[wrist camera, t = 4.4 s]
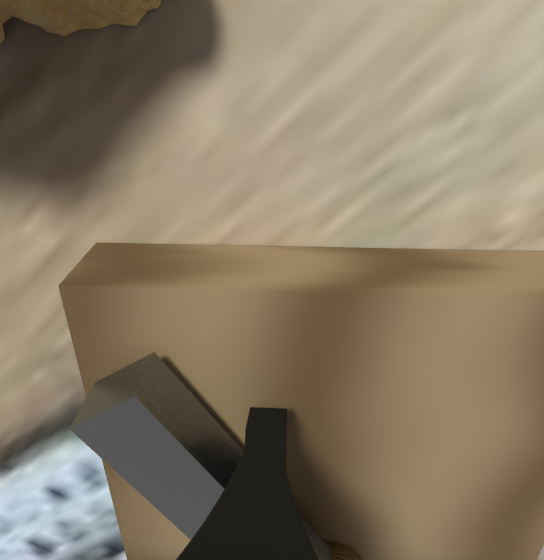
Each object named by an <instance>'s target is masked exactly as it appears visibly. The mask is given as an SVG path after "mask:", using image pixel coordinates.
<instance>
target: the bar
mask: <svg viewBox="0 0 544 560" xmlns="http://www.w3.org/2000/svg"><path fill="white" fill-rule="evenodd" d="M69 429H70V430H71V431H73V432H74V433H75V434H76V435H77V436H78V437H79V438H80V439H81V440H82V441H83V442H85V443H86V444H87V445H88V446H89V447H90V448H91V449H92V450H93V451H94V452H95V453H97V454H98V455H99V456H100V457H101V458H102V459H103V460H104V461H105V462H106V463H107V464H108V465H110V466H111V467H112V468H113V469H114V470H115V471H116V472H117V473H118V474H119V475H120V476H122V477H123V478H124V479H125V480H126V481H127V482H128V483H129V484H130V485H131V486H132V487H133V488H135V489H136V490H137V491H138V492H139V493H140V494H141V495H142V496H143V497H144V498H145V499H147V500H148V501H149V502H150V503H151V504H152V505H153V506H154V507H155V508H156V509H157V510H159V511H160V512H161V513H162V514H163V515H164V516H165V517H166V518H167V519H168V520H169V521H170V522H172V523H173V524H174V525H175V526H176V527H177V528H178V529H179V530H180V531H181V532H182V533H184V534H185V535H186V536H187V537H188V538H189V539H190V540H191V539H192V538H193V537H194V535H195V534H196V532H197V531H198V530H199V528H200V527H201V525H202V524H203V522H204V521H205V519H206V518H207V516H208V515H209V513H210V512H211V510H212V509H213V507H214V506H215V504H216V503H217V501H218V499H219V498H220V496H221V494H222V492H223V491H224V489H225V487H226V486H227V484H228V482H229V480H230V479H231V477H232V475H233V473H234V471H235V470H236V468H237V466H238V464H239V462H240V460H241V458H242V456H243V454H244V452H243V450H242V449H241V448H240V447H239V446H238V445H237V444H236V443H235V441H234V440H233V439H232V438H231V437H230V436H229V435H228V434H227V433H226V431H225V430H224V429H223V428H222V427H221V426H220V425H219V424H218V422H217V421H216V420H215V419H214V418H213V417H212V416H211V415H210V413H209V412H208V411H207V410H206V409H205V408H204V407H203V406H202V405H201V403H200V402H199V401H198V400H197V399H196V398H195V397H194V396H193V394H192V393H191V392H190V391H189V390H188V389H187V388H186V387H185V386H184V384H183V383H182V382H181V381H180V380H179V379H178V378H177V377H176V375H175V374H174V373H173V372H172V371H171V370H170V369H169V368H168V366H167V365H166V364H165V363H164V362H163V361H162V360H161V359H160V358H159V356H158V355H157V354H156V353H155V352H153V353H151V354H149V355H147V356H145V357H143V358H141V359H139V360H138V361H136V362H134V363H132V364H130V365H128V366H126V367H124V368H122V369H120V370H118V371H116V372H114V373H112V374H110V375H108V376H106V377H104V378H102V379H100V380H99V381H97V382H95V383H94V385H93V387H92V389H91V390H90V392H89V394H88V396H87V398H86V399H85V401H84V403H83V405H82V407H81V408H80V410H79V412H78V414H77V416H76V417H75V419H74V421H73V423H72V425H71V426H70V428H69ZM300 517H301V519H302V522H303V524H304V527H305V529H306V532H307V534H308V537H309V539H310V542H311V544H312V546H313V549H314V551H315V553H316V555H317V558H318V560H363V559H362V558H361V557H360V556H359V555H358V554H357V553H356V552H355V551H353V550H351V549H349V548H347V547H344V546H341V545H337V544H331V543H325V542H324V541H323V540H322V539H321V538H320V537H319V535H318V534H317V533H316V532H315V531H314V530H313V529H312V528H311V526H310V525H309V524H308V523H307V522H306V521H305V520H304V519H303V518H302V516H301V515H300Z"/></svg>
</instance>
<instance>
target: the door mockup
mask: <svg viewBox="0 0 544 560" xmlns="http://www.w3.org/2000/svg"><path fill="white" fill-rule="evenodd" d="M59 290H60V294H61V298H62V302H63V306H64V310H65V314H66V318H67V322H68V326H69V330H70V334H71V338H72V342H73V346H74V350H75V354H76V358H77V362H78V366H79V370H80V374H81V377H82V381H83V385H84V389H85V393H86V397H87V396H88V394H89V392H90V390H91V389H92V387H93V385H94V383H95V382H97V381H99V380H100V379H102V378H104V377H106V376H108V375H110V374H112V373H114V372H116V371H118V370H120V369H122V368H124V367H126V366H128V365H130V364H132V363H134V362H136V361H138V360H139V359H141V358H143V357H145V356H147V355H149V354H151V353H153V352H155V353H156V354H157V355H158V356H159V358H160V359H161V360H162V361H163V362H164V363H165V364H166V365H167V366H168V368H169V369H170V370H171V371H172V372H173V373H174V374H175V375H176V377H177V378H178V379H179V380H180V381H181V382H182V383H183V384H184V386H185V387H186V388H187V389H188V390H189V391H190V392H191V393H192V394H193V396H194V397H195V398H196V399H197V400H198V401H199V402H200V403H201V405H202V406H203V407H204V408H205V409H206V410H207V411H208V412H209V413H210V415H211V416H212V417H213V418H214V419H215V420H216V421H217V422H218V424H219V425H220V426H221V427H222V428H223V429H224V430H225V431H226V433H227V434H228V435H229V436H230V437H231V438H232V439H233V440H234V441H235V443H236V444H237V445H238V446H239V447H240V448H241V449H242V450H243V452H244V449H245V429H246V424H247V419H248V415H249V411H250V407H261V408H284V409H287V463H286V473H287V477H288V480H289V484H290V487H291V490H292V493H293V496H294V499H295V502H296V505H297V508H298V511H299V514H300V515H301V516H302V518H303V519H304V520H305V521H306V522H307V523H308V524H309V525H310V526H311V528H312V529H313V530H314V531H315V532H316V533H317V534H318V535H319V537H320V538H321V539H322V540H323V541H324V542H325V543H331V544H337V545H341V546H344V547H347V548H349V549H351V550H353V551H355V552H356V553H357V554H358V555H359V556H360V557H361V558H362V559H363V560H537V558H538V556H539V553H540V551H541V549H542V547H543V544H544V252H543V251H491V250H439V249H387V248H336V247H284V246H232V245H180V244H128V243H96V244H95V245H94V246H93V247H92V248H91V249H90V251H89V252H88V253H87V254H86V255H85V256H84V257H83V258H82V260H81V261H80V262H79V263H78V264H77V265H76V266H75V268H74V269H73V270H72V271H71V272H70V273H69V274H68V275H67V277H66V278H65V279H64V280H63V281H62V282H61V283H60V284H59ZM102 461H103V465H104V469H105V473H106V477H107V481H108V485H109V489H110V493H111V497H112V501H113V505H114V509H115V513H116V517H117V521H118V525H119V529H120V533H121V537H122V541H123V545H124V549H125V553H126V557H127V560H176V559H177V558H178V556H179V555H180V554H181V552H182V551H183V550H184V548H185V547H186V546H187V545H188V543H189V542H190V541H191V540H190V539H189V538H188V537H187V536H186V535H185V534H184V533H182V532H181V531H180V530H179V529H178V528H177V527H176V526H175V525H174V524H173V523H172V522H170V521H169V520H168V519H167V518H166V517H165V516H164V515H163V514H162V513H161V512H160V511H159V510H157V509H156V508H155V507H154V506H153V505H152V504H151V503H150V502H149V501H148V500H147V499H145V498H144V497H143V496H142V495H141V494H140V493H139V492H138V491H137V490H136V489H135V488H133V487H132V486H131V485H130V484H129V483H128V482H127V481H126V480H125V479H124V478H123V477H122V476H120V475H119V474H118V473H117V472H116V471H115V470H114V469H113V468H112V467H111V466H110V465H108V464H107V463H106V462H105V461H104V460H103V459H102Z"/></svg>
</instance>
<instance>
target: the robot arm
mask: <svg viewBox="0 0 544 560" xmlns="http://www.w3.org/2000/svg"><path fill="white" fill-rule="evenodd" d="M286 463H287V409H284V408H261V407H250V411H249V415H248V419H247V424H246V429H245V449H244V454H243V456H242V458H241V460H240V462H239V464H238V466H237V468H236V470H235V471H234V473H233V475H232V477H231V479H230V480H229V482H228V484H227V486H226V487H225V489H224V491H223V492H222V494H221V496H220V498H219V499H218V501H217V503H216V504H215V506H214V507H213V509H212V510H211V512H210V513H209V515H208V516H207V518H206V519H205V521H204V522H203V524H202V525H201V527H200V528H199V530H198V531H197V532H196V534H195V535H194V537H193V538H192V539H191V541H190V542H189V543H188V545H187V546H186V547H185V548H184V550H183V551H182V552H181V554H180V555H179V556H178V558H177V559H176V560H318V558H317V555H316V553H315V551H314V549H313V546H312V544H311V542H310V539H309V537H308V534H307V532H306V529H305V527H304V524H303V522H302V519H301V517H300V514H299V511H298V508H297V505H296V502H295V499H294V496H293V493H292V490H291V487H290V484H289V480H288V477H287V473H286Z"/></svg>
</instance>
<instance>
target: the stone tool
mask: <svg viewBox="0 0 544 560" xmlns="http://www.w3.org/2000/svg"><path fill="white" fill-rule="evenodd" d="M161 1H162V0H0V44H1V43H2V42H3V41H4V40H5V36H4V30H3V24H4V23H5V22H6V21H7V20H8V19H10V18H11V17H12V16H14V17H16V18H19V19H21V20H23V21H25V22H28V23H31V24H34V25H37V26H40V27H42V28H43V29H44V30H45V31H46V32H47V33H56V34H58V35H60V36H63V37H65V36H67V35H69V34H71V33H73V32H74V31H78V30H82V29H99V28H103V27H106V26H108V25H113V24H120V25H125V26H129V27H130V26H132V25H134V26H136V25H137V24H138V23H139V21H140V20H141V19H142V18H143V16H144V15H145V14H146V13H147V11H148V10H152V9H156V8H159V7H160V4H161Z"/></svg>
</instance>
